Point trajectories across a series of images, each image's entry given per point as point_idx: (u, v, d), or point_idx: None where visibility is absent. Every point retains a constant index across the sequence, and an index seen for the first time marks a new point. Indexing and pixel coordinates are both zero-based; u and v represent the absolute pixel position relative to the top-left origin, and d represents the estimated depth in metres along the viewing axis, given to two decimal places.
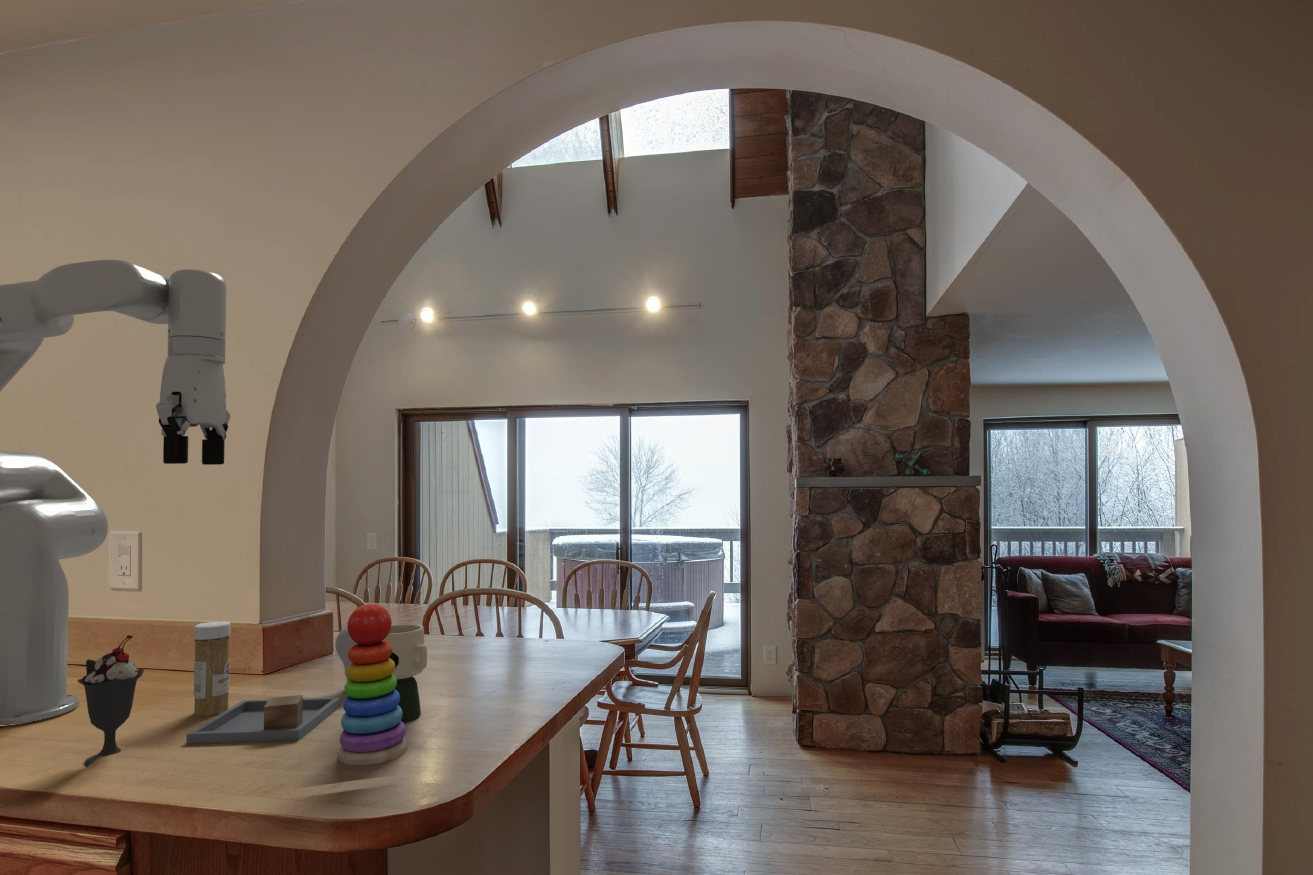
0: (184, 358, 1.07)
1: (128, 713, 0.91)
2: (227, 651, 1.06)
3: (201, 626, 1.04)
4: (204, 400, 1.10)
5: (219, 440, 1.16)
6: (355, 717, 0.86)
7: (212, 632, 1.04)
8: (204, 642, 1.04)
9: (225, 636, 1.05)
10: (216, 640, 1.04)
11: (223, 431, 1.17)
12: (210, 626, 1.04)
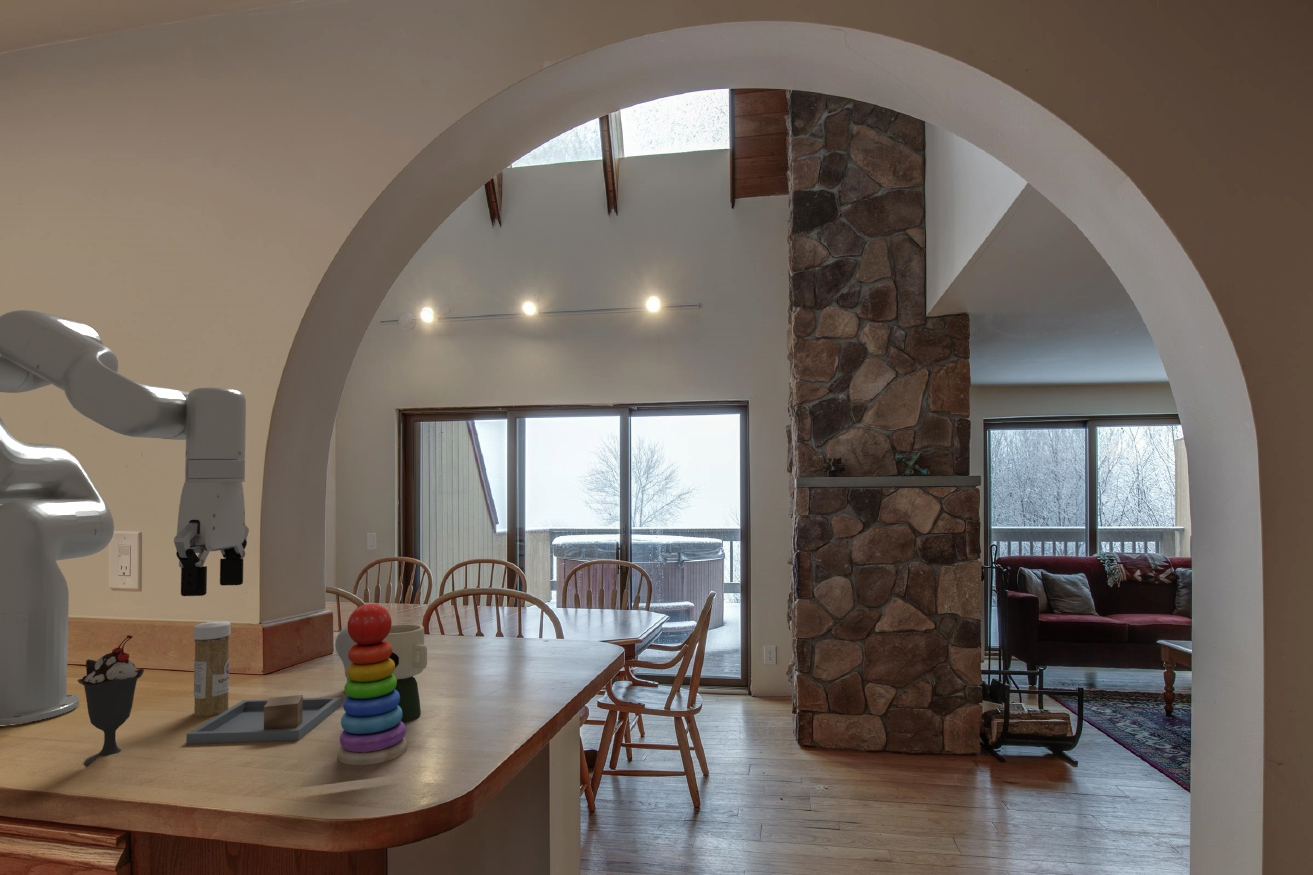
0: (203, 483, 1.03)
1: (128, 713, 0.91)
2: (227, 651, 1.06)
3: (201, 626, 1.04)
4: (223, 525, 1.05)
5: (238, 560, 1.11)
6: (355, 717, 0.86)
7: (212, 632, 1.04)
8: (204, 642, 1.04)
9: (225, 636, 1.05)
10: (216, 640, 1.04)
11: (242, 549, 1.12)
12: (210, 626, 1.04)
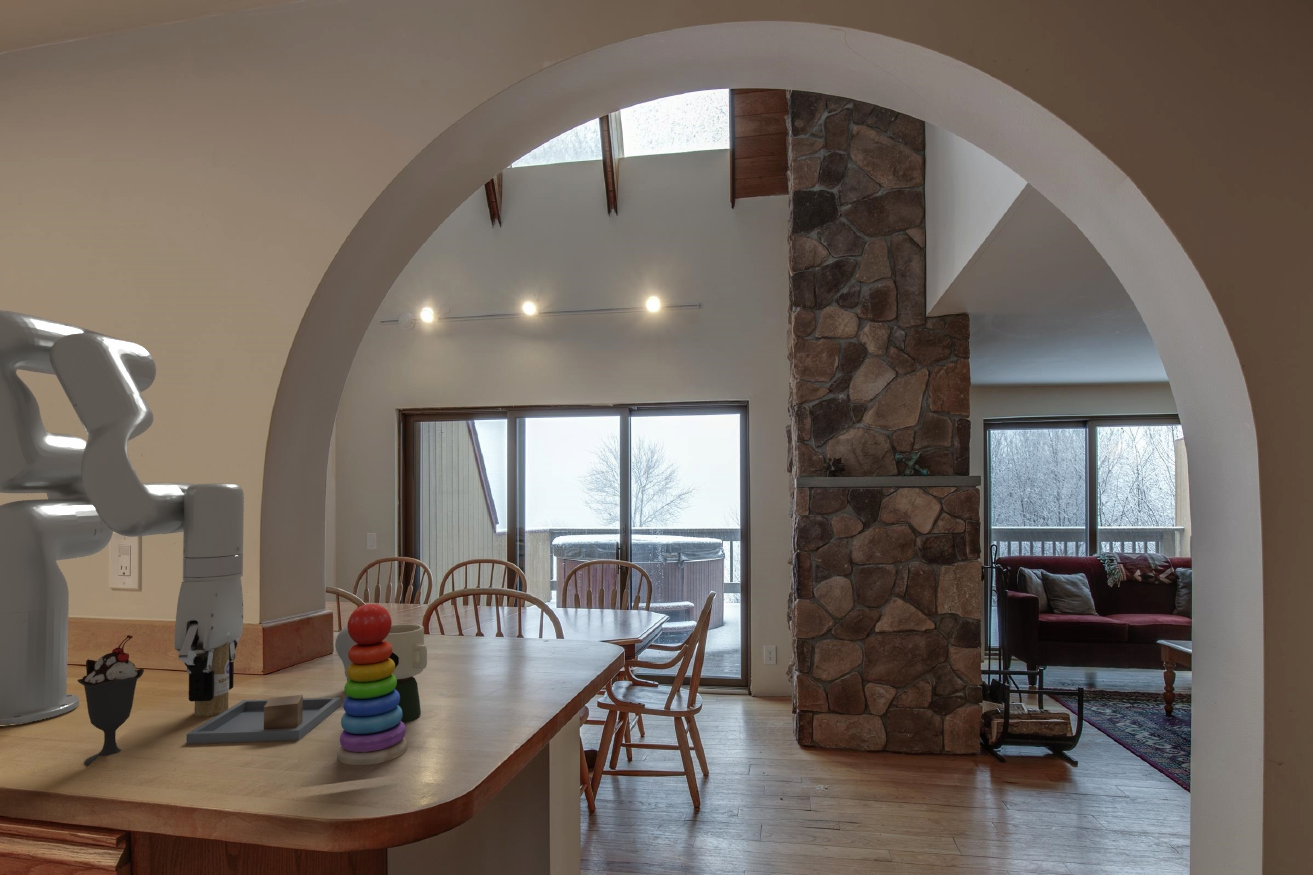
0: (200, 583, 1.02)
1: (128, 713, 0.91)
2: (227, 651, 1.06)
3: None
4: (221, 622, 1.04)
5: None
6: (355, 717, 0.86)
7: None
8: None
9: None
10: None
11: (232, 652, 1.09)
12: None
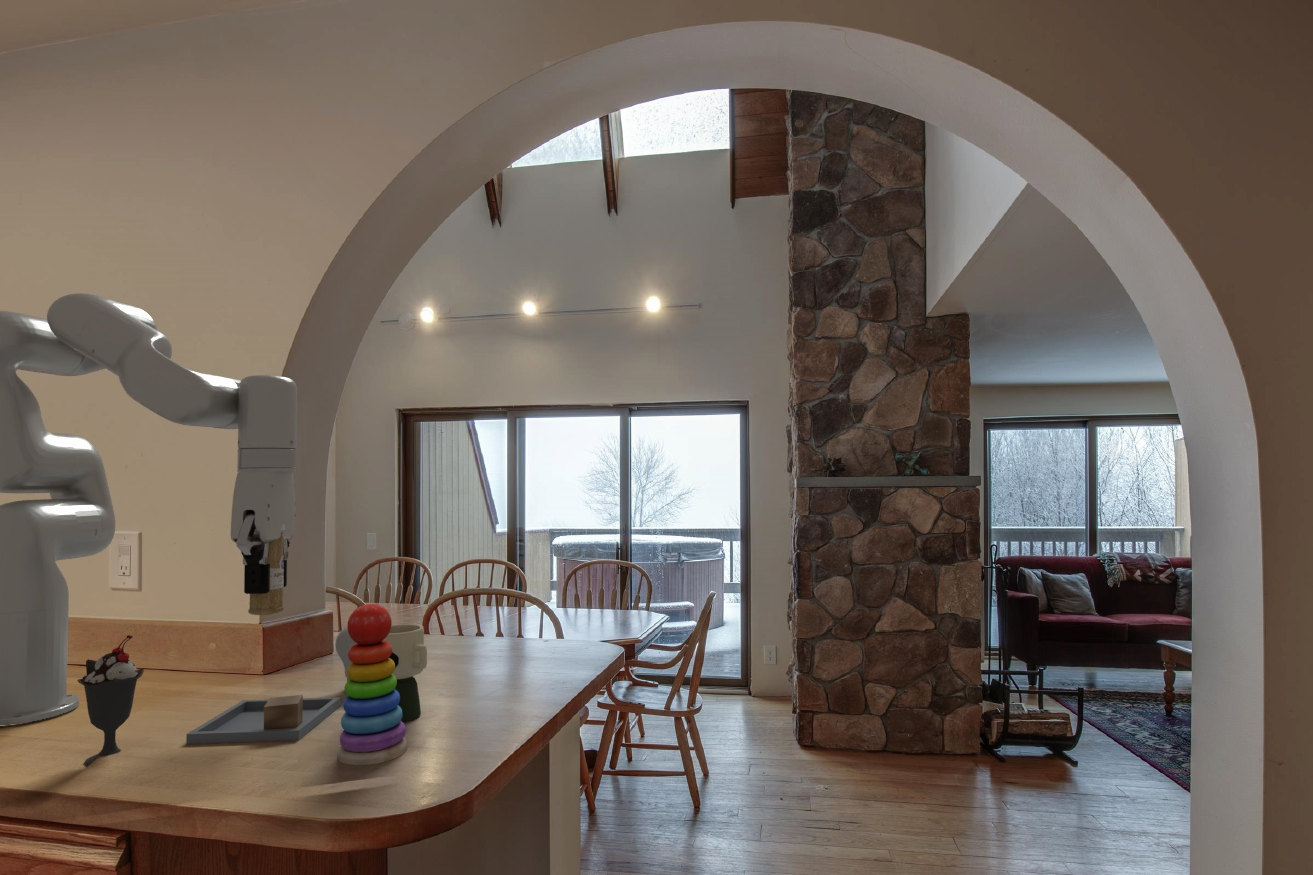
0: (257, 473, 1.00)
1: (128, 713, 0.91)
2: (282, 546, 1.04)
3: None
4: (277, 515, 1.02)
5: None
6: (355, 717, 0.86)
7: None
8: None
9: (280, 530, 1.04)
10: None
11: (285, 550, 1.07)
12: None
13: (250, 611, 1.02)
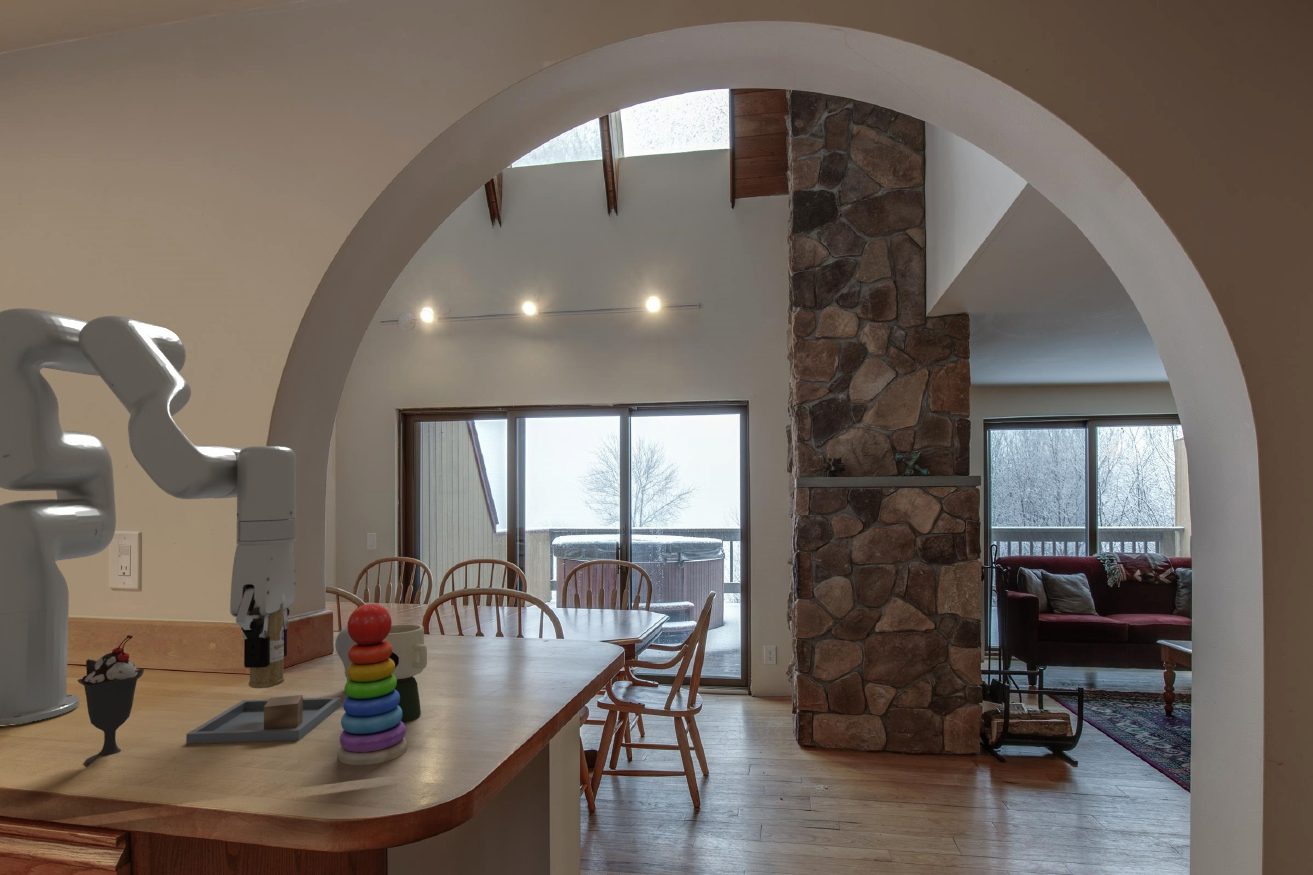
0: (256, 546, 1.00)
1: (128, 713, 0.91)
2: (282, 617, 1.04)
3: None
4: (276, 587, 1.02)
5: None
6: (355, 717, 0.86)
7: None
8: None
9: None
10: None
11: (285, 620, 1.07)
12: None
13: (250, 684, 1.01)
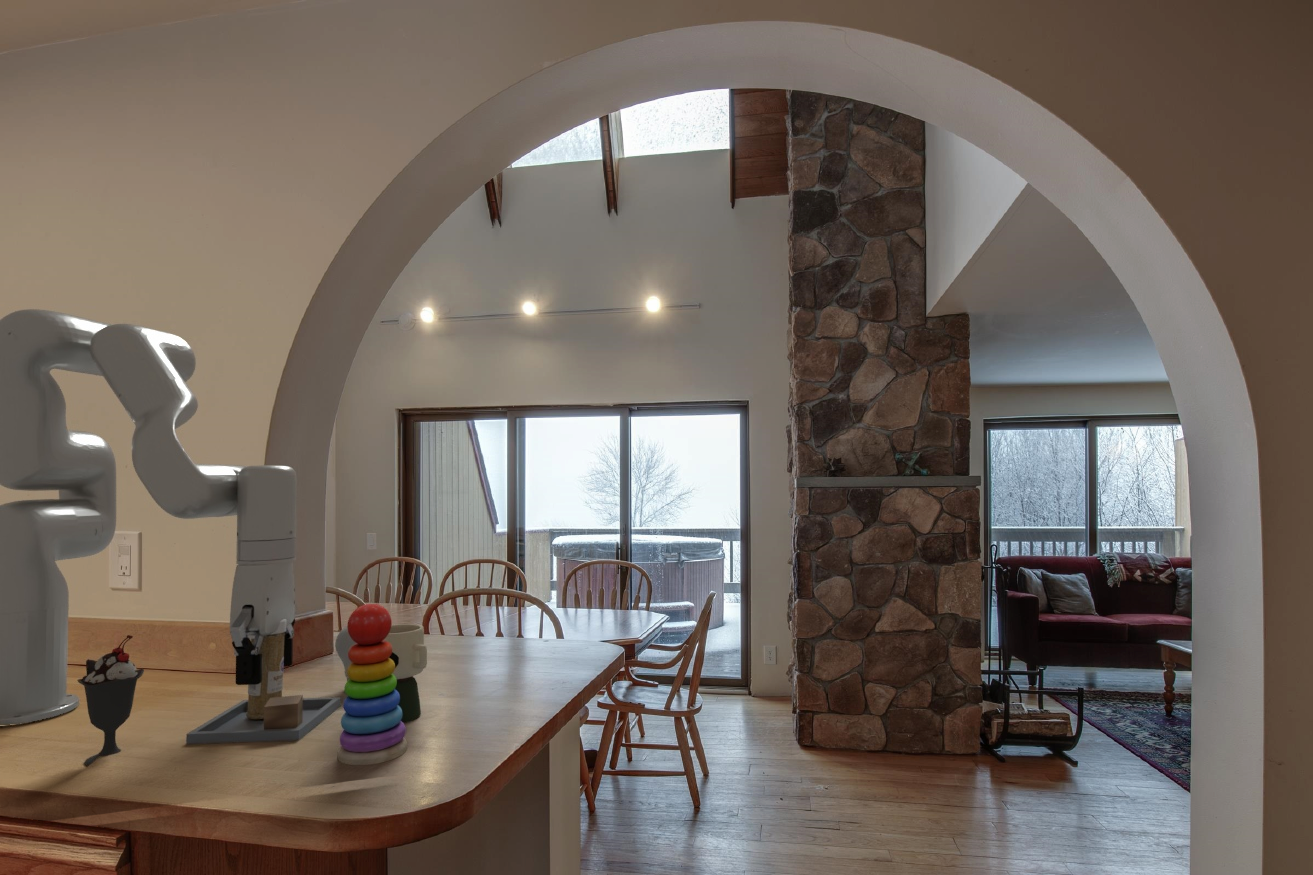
0: (256, 566, 1.00)
1: (128, 713, 0.91)
2: (282, 648, 1.04)
3: None
4: (276, 607, 1.02)
5: (287, 640, 1.08)
6: (355, 717, 0.86)
7: None
8: None
9: (281, 632, 1.03)
10: (273, 635, 1.02)
11: (291, 629, 1.08)
12: None
13: (248, 715, 1.01)
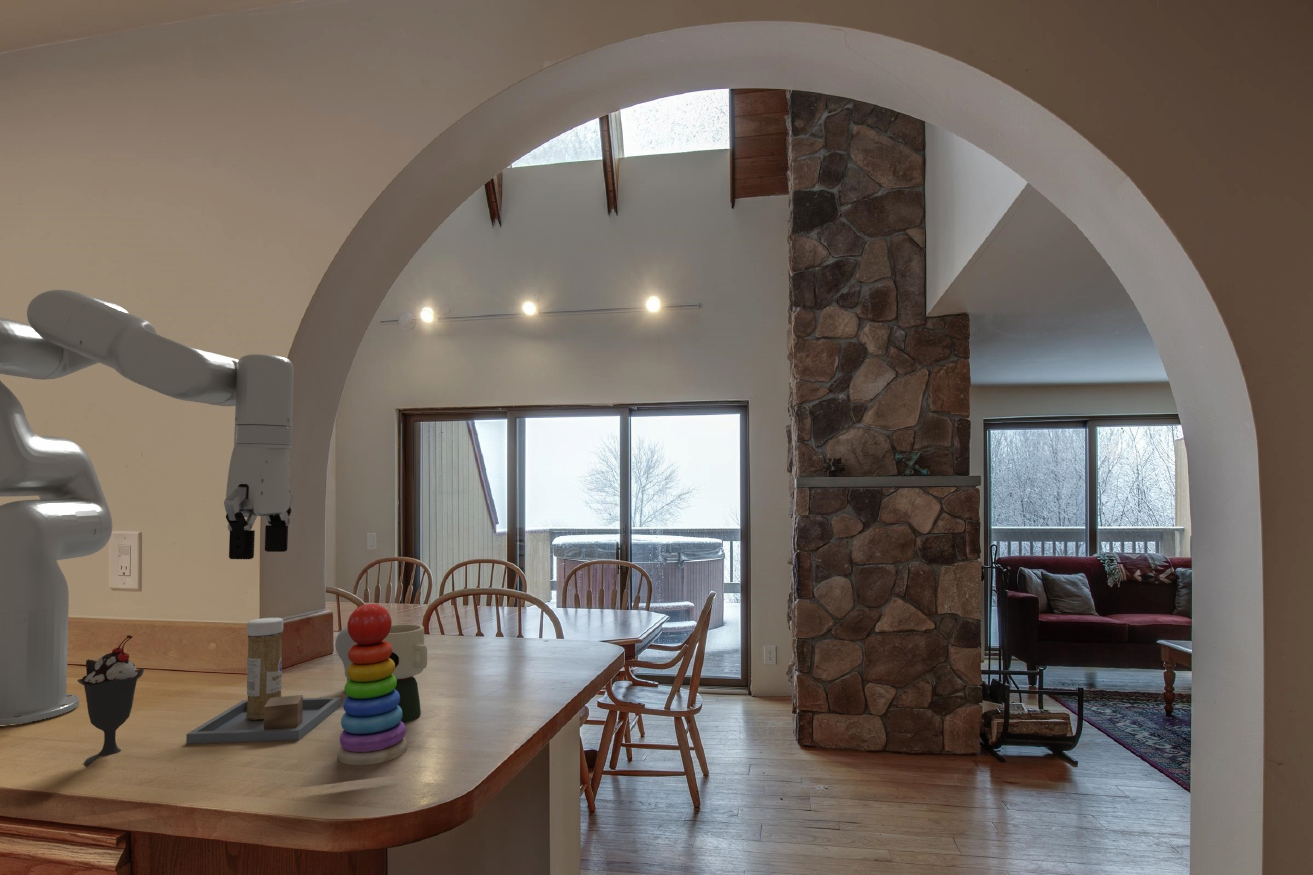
0: (252, 448, 1.04)
1: (128, 713, 0.91)
2: (280, 648, 1.04)
3: (255, 622, 1.02)
4: (270, 490, 1.06)
5: (283, 526, 1.12)
6: (355, 717, 0.86)
7: (266, 628, 1.02)
8: (258, 638, 1.02)
9: (278, 632, 1.03)
10: (270, 636, 1.02)
11: (287, 517, 1.13)
12: (264, 622, 1.02)
13: (248, 716, 1.01)
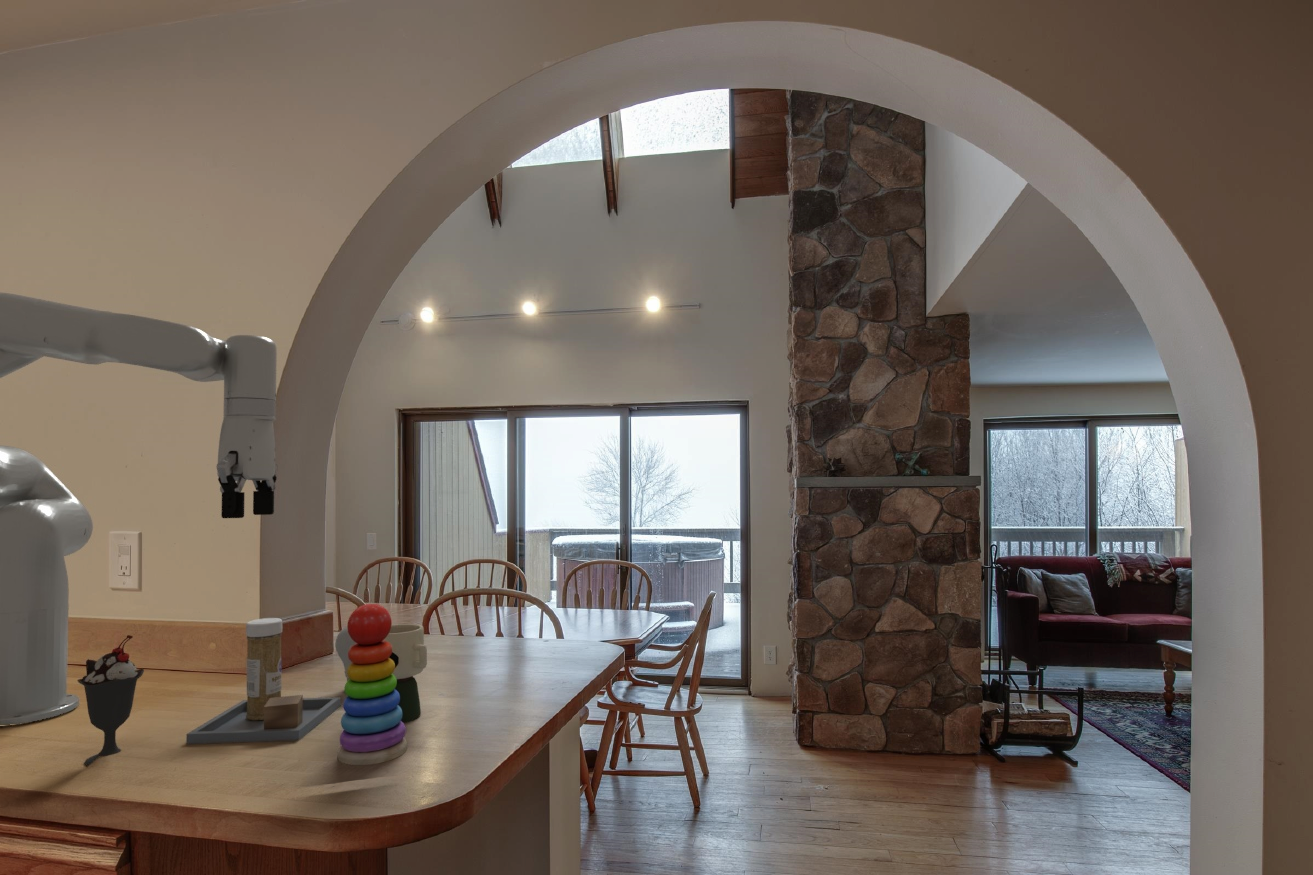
0: (240, 419, 1.15)
1: (128, 713, 0.91)
2: (279, 648, 1.04)
3: (254, 623, 1.02)
4: (258, 457, 1.17)
5: (269, 492, 1.23)
6: (355, 717, 0.86)
7: (265, 629, 1.01)
8: (258, 639, 1.01)
9: (278, 633, 1.03)
10: (269, 637, 1.02)
11: (272, 483, 1.24)
12: (263, 623, 1.02)
13: (248, 716, 1.01)
